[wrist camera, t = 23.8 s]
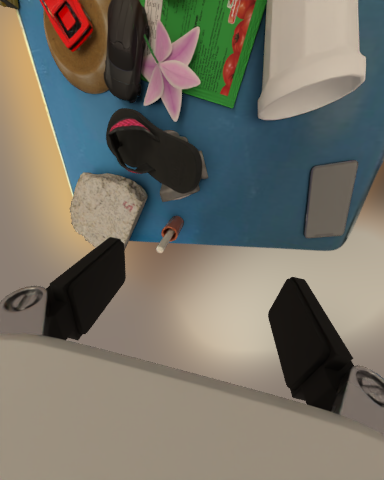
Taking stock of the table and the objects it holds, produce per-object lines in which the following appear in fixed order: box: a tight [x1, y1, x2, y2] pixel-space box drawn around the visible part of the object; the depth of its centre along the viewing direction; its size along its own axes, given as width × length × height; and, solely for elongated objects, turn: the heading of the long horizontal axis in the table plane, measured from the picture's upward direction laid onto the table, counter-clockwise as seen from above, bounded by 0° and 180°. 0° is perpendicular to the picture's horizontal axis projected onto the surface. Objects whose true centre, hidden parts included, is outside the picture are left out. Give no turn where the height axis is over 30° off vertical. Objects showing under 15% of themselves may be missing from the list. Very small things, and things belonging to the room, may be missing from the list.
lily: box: [141, 19, 201, 122], centre depth 27 cm, size 12×12×10 cm
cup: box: [258, 0, 366, 120], centre depth 22 cm, size 12×12×15 cm
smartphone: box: [304, 160, 358, 238], centre depth 35 cm, size 8×1×15 cm
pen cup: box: [162, 216, 184, 241], centre depth 40 cm, size 3×4×7 cm
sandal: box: [106, 108, 202, 194], centre depth 29 cm, size 9×25×6 cm
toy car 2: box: [104, 0, 150, 103], centre depth 27 cm, size 6×12×4 cm, turn 160°
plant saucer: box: [44, 0, 111, 94], centre depth 29 cm, size 15×15×3 cm
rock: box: [70, 173, 147, 250], centre depth 40 cm, size 20×17×10 cm
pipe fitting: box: [160, 130, 208, 202], centre depth 34 cm, size 12×8×10 cm
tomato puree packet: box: [131, 0, 267, 108], centre depth 27 cm, size 15×1×20 cm
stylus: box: [156, 228, 175, 253], centre depth 37 cm, size 1×1×13 cm
